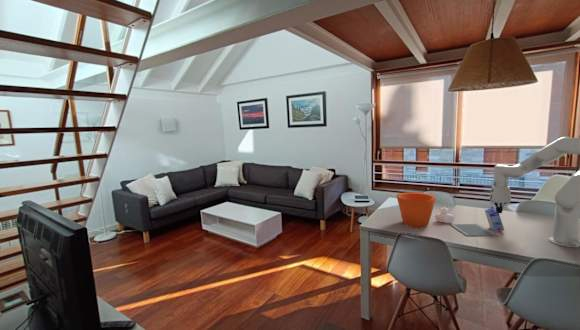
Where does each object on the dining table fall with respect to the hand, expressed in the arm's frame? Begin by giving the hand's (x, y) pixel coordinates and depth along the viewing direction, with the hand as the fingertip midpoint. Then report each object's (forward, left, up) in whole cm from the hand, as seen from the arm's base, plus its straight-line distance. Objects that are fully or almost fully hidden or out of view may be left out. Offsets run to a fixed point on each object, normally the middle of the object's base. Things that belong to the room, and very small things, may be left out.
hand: (499, 212), depth 174 cm
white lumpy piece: (+17, +25, -12) cm, 33 cm away
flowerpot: (+14, +46, -12) cm, 50 cm away
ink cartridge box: (0, 0, -11) cm, 11 cm away
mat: (0, +16, -12) cm, 20 cm away
